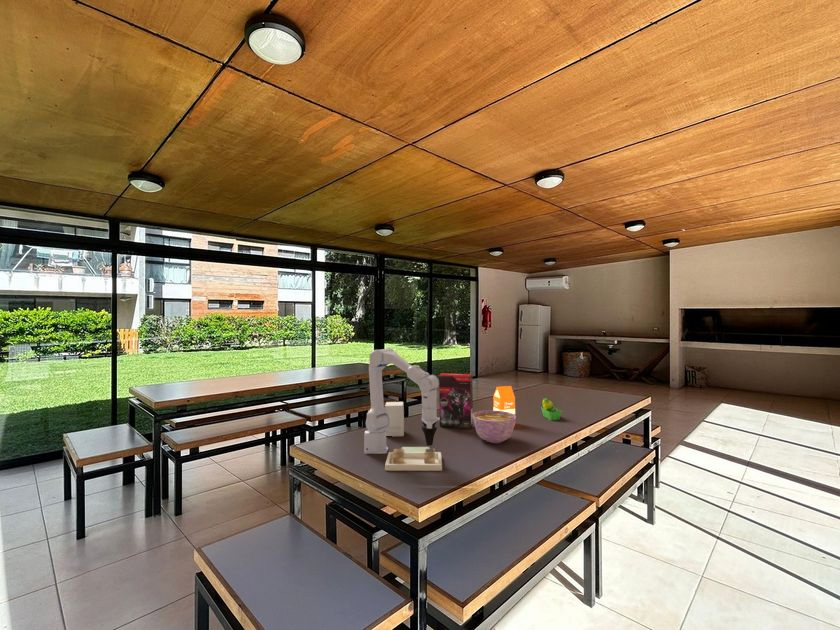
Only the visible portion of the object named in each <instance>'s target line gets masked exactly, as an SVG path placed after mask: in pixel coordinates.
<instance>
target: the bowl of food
mask: <svg viewBox="0 0 840 630" xmlns="http://www.w3.org/2000/svg"><path fill="white" fill-rule="evenodd" d="M516 421H517V416H516V414H515V415H514V414H512V413H509V412H504V411H493V410H490V409H489V410H480V411H479V410H478V411H476V412H473V425H474V428H475V432H476V434H477V435H478V437H479V438H481V439H482V440H484V441H485V440H486V441H485V442H486V443H489V442H490V443H491V444H501V443H503V442H504V441H505V442H506V440H508V439H510V438H511V436H512V435H513V432H514V428H515V426H516Z"/></svg>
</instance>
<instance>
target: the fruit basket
mask: <svg viewBox="0 0 840 630" xmlns="http://www.w3.org/2000/svg"><path fill="white" fill-rule="evenodd" d="M541 402H542V406H540V409H541V411H542V415H543V417H544V418H546V419H548V420H549V421H560V418H561V414H562V413H563V412H562V411H563V410H560V409H558V408H556V407H554V406H553V405H554V403H553V402H552V401H551V400H549V399H548V398H545V397H544V398H543V400H542V401H541Z"/></svg>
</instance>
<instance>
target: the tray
mask: <svg viewBox="0 0 840 630" xmlns="http://www.w3.org/2000/svg"><path fill="white" fill-rule="evenodd" d="M442 459H443V458H442V452H441V451H435V464H424V452H404V464H393V451H389V452H387V456H386V461H385V464H384V470H385V471H390V472H391V471H393V472H394V471H403V472H404V471H411V472H412V471H415V472H416V471H421V472H423V471H426V472H429V471H434V472H435V471H437V472H438V471H440V472H441V471H443V461H442Z"/></svg>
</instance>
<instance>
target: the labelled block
mask: <svg viewBox="0 0 840 630" xmlns="http://www.w3.org/2000/svg"><path fill="white" fill-rule="evenodd" d="M435 452H436V451H435V448H429V449H424V464H435Z"/></svg>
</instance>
